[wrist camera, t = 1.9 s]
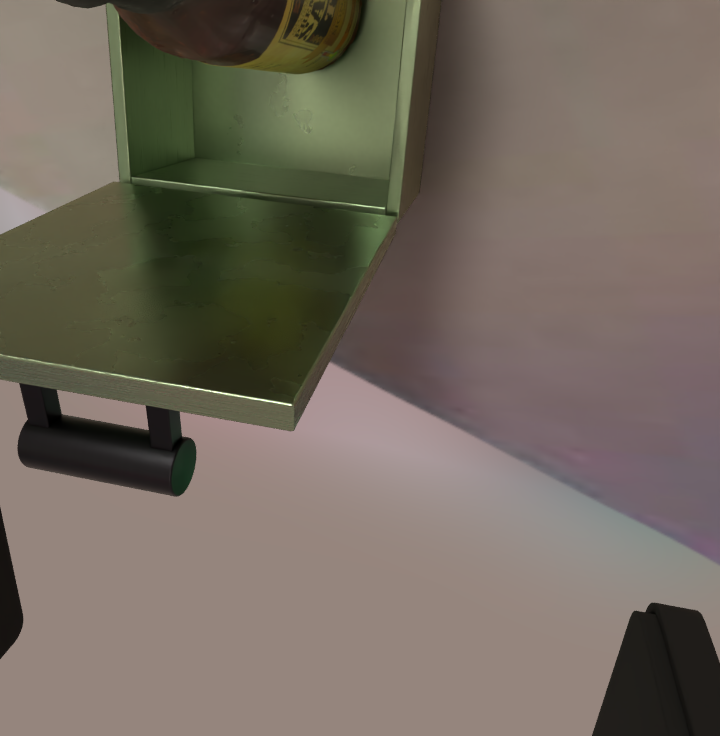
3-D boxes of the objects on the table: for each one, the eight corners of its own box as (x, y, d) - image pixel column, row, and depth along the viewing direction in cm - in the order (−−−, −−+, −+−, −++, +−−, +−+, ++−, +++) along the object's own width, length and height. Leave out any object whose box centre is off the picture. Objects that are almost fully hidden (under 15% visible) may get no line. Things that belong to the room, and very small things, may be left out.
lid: (-191, 322, 17) (-126, 481, 20) (294, 405, 15) (292, 569, 18) (113, 180, 30) (127, 289, 33) (397, 216, 28) (387, 328, 31)
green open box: (179, -142, 31) (89, -200, 24) (456, -130, 29) (441, -189, 23) (189, 166, 37) (119, 188, 31) (419, 193, 35) (398, 223, 29)
